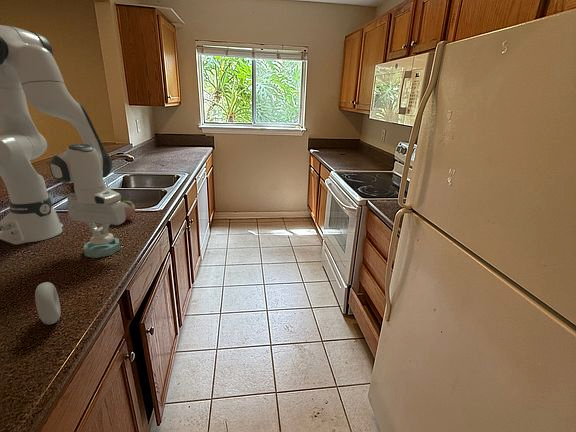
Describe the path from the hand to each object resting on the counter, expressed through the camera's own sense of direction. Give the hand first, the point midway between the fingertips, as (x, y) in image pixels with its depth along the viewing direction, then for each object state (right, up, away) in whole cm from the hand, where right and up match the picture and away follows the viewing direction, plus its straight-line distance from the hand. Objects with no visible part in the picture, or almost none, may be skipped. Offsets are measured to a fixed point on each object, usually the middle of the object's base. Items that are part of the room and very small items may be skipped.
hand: (100, 233), depth 108 cm
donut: (+8, -19, -32) cm, 39 cm away
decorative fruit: (-6, +4, +29) cm, 30 cm away
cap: (0, -3, +1) cm, 3 cm away
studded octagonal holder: (0, -6, +2) cm, 7 cm away
